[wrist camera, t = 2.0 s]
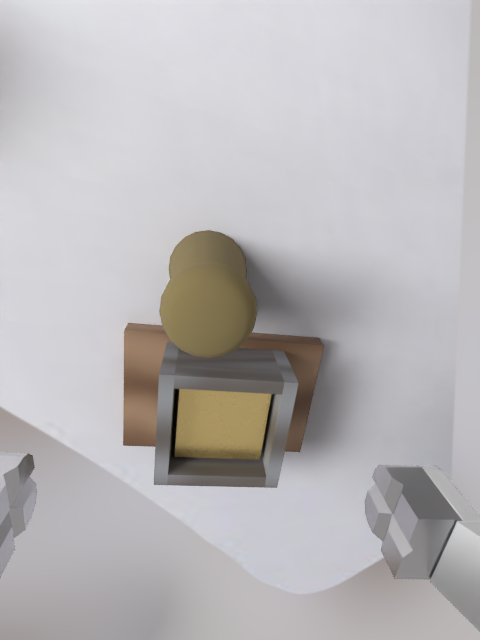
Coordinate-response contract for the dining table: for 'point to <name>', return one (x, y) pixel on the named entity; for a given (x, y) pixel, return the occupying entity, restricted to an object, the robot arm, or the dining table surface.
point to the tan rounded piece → (208, 296)
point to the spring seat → (221, 424)
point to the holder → (217, 375)
